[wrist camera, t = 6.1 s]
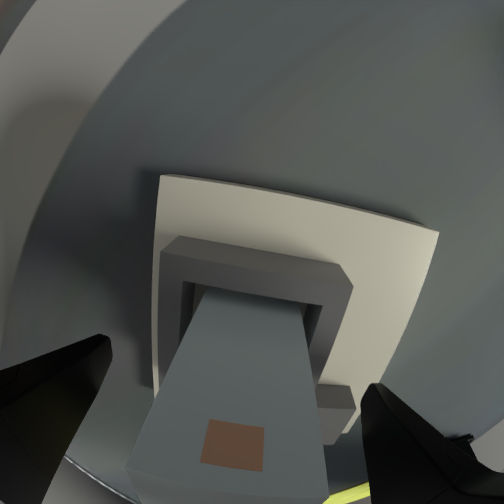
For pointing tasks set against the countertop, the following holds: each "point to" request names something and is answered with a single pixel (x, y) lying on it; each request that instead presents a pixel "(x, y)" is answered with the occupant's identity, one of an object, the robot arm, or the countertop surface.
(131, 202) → the countertop surface
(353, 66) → the countertop surface
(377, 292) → the board
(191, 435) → the plug
